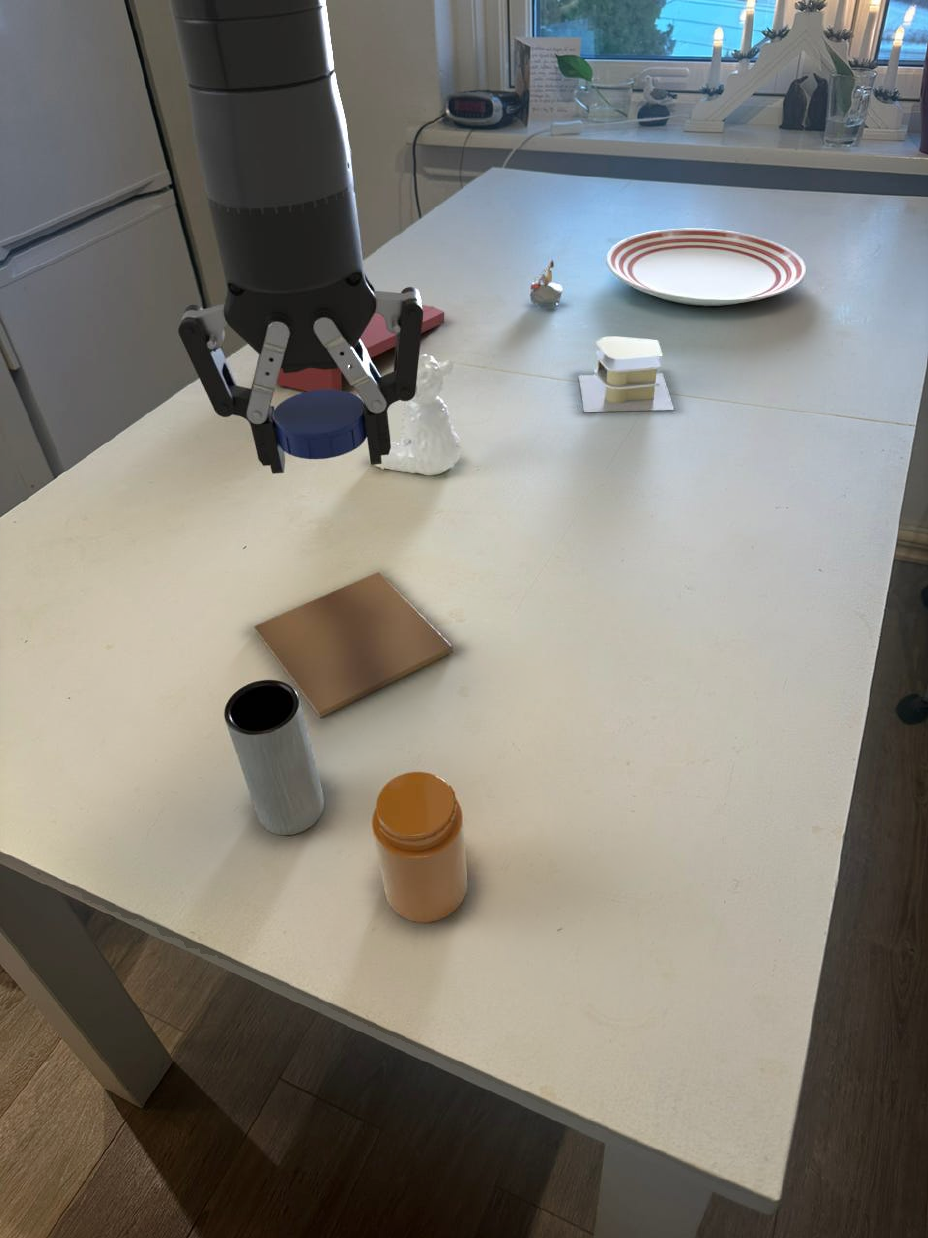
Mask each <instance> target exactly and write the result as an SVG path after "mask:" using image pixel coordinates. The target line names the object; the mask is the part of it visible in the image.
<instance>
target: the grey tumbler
mask: <svg viewBox="0 0 928 1238" xmlns="http://www.w3.org/2000/svg"><path fill="white" fill-rule="evenodd" d="M223 710H224V712H223V718H224V721H225V724H226V727H227V730H228V732H229V736H230V739H231V742H232V745H233V747H234V750H235V754H236V757H237V760H238V763H239V765H240V768H241V771H242V774H243V777H244V781H245V784H246V786H247V789H248V792H249V795H250V798H251V801H252V804H253V807H254V811H255V813H256V815H257V818H258V821H259V823H260V824H261V826H262V827H263V828H264V830H267V831H268V832H270V833H272V834H274V835H279V836H291V835H292V836H293V835H297V834H299V833H302V832H304V831H306V830H308V829H310V828H311V827H312V826H314V825H315V824H316V822H318V820H319V819H320V817H321V816H322V814H323V811H324V808H325V799H324V798H325V797H324V792H323V789H322V784H321V780H320V776H319V772H318V768H317V764H316V760H315V756H314V752H313V748H312V744H311V739H310V736H309V732H308V728H307V724H306V719H305V715H304V711H303V707H302V703H301V700H300V696H299V694H298V692H297V690H296V689H295V688H294V687H293V686H292V685H290V684H288V683H287V682H284V681H281V680H277V679H262V680H257V681H254V682H250V683H248V684H246V685H244V686H242V687H241V688H239V689H237V690H236V691H235V692H234V693H233V694H232V695H231V696H230V697H229V699H228V700H227V702H226V704H225V707H224V709H223Z"/></svg>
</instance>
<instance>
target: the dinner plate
mask: <svg viewBox="0 0 928 1238" xmlns="http://www.w3.org/2000/svg"><path fill="white" fill-rule="evenodd" d="M605 263H606V266H607V268H608V269H609V271H610V272H611V273H612V275H614V277H616V278H617V279H618V280H619V281H621V282H622V283H624V284H626V285H628V286H629V287H630V288H633V289H635V290H637V291H640V292H642V293H644V294H647V295H650V296H654V297H657V298H660V299H662V300H665V301H669V302H672V303H673V302H674V303H678V304H684V305H690V306H699V307H700V306H702V307H719V306H721V307H722V306H731V305H736V304H737V305H738V304H741V303H749V302H755V301H759V300H762V299H767V298H769V297H773V296H776V295H780V294H783V293H786V292H788V291H790V290H792V289H794V288H795V287H797V286H798V285H800V284H801V283H802V282H803V281H804V279H805V278H806V276H807V265H806V263H805V261H804V259H803V258H801V256H799V255H798V254H797V253H796V252H794V250H791V249H790V248H788V247H786V246H784V245H782V244H780V243H778V242H776V241H773V240H770V239H767V238H764V237H761V236H758V235H753V234H748V233H743V232H739V231H732V230H726V229H725V230H724V229H713V228H671V229H670V228H669V229H661V230H653V231H648V232H643V233H638V234H635V235H631V236H628V237H627V238H624V239H622V240H620V241H618V242H617V243H615V244H614V245H613V246H611V248H609V250H608V252H607V253H606V256H605Z"/></svg>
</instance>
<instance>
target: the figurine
mask: <svg viewBox="0 0 928 1238" xmlns="http://www.w3.org/2000/svg"><path fill="white" fill-rule="evenodd" d="M554 268H555V261H554V260H553V259H551V260H550V261H549V263H548V266H547V267H545V268H544V269H543V271H542V273H540V274H539V276H540V278H539V279H538V277H539V276H537V277H536V276H535V277H533V278H532V280H534V281H535V282H532V283H531V284H530V288H529V289H530V292H529V298H530V301H531V303H532V304H533V305H536V306H537V305H538V306H539V307H540V308H554V309H555V308H557V307H558V305H559V303H560V301H561V299H562V298H561V297H562V293H563V287H562V286H561V285H560V284H557V283H554V282H552V280H553V273H552V269H554Z"/></svg>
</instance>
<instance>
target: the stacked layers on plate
mask: <svg viewBox="0 0 928 1238" xmlns="http://www.w3.org/2000/svg"><path fill="white" fill-rule="evenodd" d="M595 344H596V345H597V346H598V347H599V350H597V351H596V352H595V353H594V354H595V355H594V356H595V357H596V359H597V360H598V362H597V367H596V368H594V369H593V370H594V374H580V375H578V380H579V387H580V394H581V401H582V408H583V413H602V412H605V413H606V412H607V413H610V412H644V411H645V412H647V411H648V412H649V411H674V410H675V409H674V405H673V402H672V399H671V396H670V392H669V389H668V386H667V384H666V379H665V376H664V372H658V370H661V369H662V364H661V361H660V357H662V356H663V352H662V348H661V346H660V342H659V340H658V339H652V338H651V339H650V338H639V337H628V336H619V335H616V336H615V335H614V336H612V335H611V336H603V337H602V338H599V339H598V340H597V341H595Z"/></svg>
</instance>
